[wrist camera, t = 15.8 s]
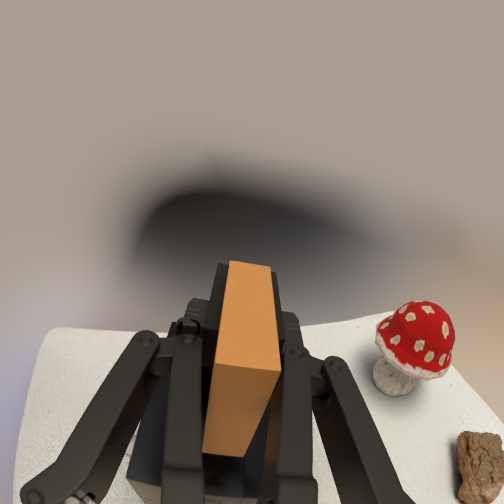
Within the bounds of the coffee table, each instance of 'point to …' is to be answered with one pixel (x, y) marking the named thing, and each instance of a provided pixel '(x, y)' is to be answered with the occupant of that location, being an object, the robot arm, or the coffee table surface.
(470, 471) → the rock
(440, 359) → the decorative mushroom
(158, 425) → the toaster
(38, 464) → the coffee table surface
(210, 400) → the toast
